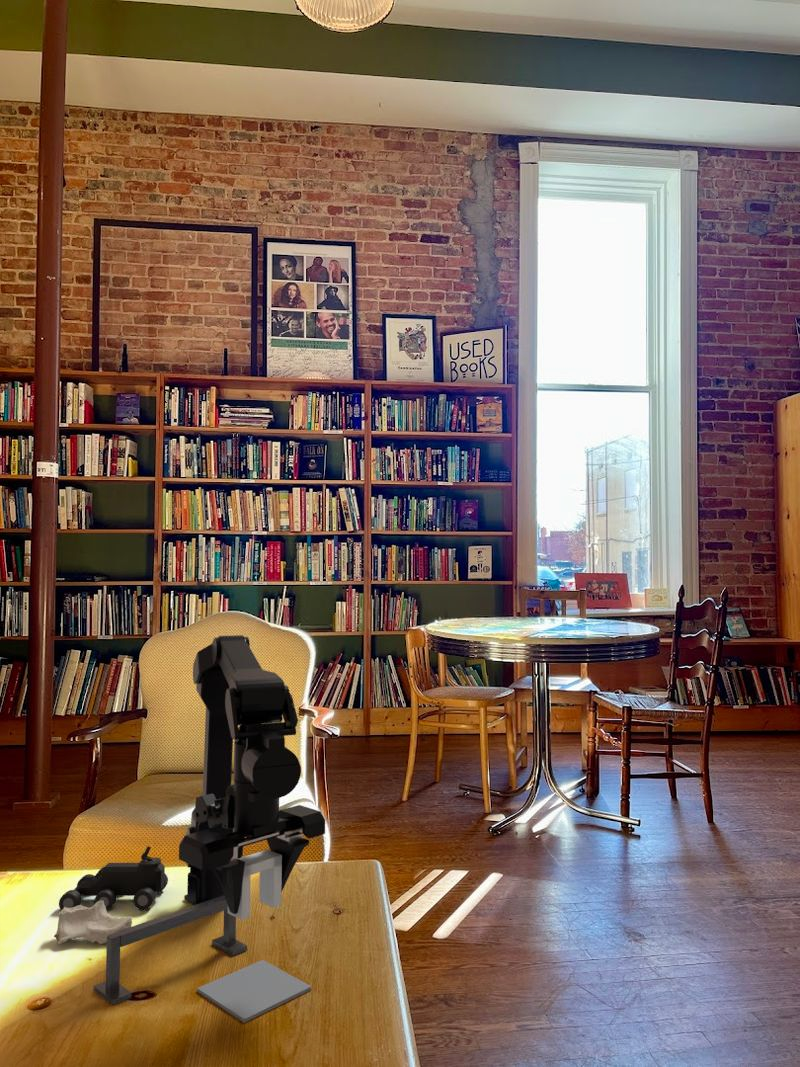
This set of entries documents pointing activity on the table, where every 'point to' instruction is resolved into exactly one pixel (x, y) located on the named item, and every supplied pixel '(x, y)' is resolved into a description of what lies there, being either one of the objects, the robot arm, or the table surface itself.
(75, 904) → the toy vehicle
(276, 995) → the mat
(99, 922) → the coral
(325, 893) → the table surface
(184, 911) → the stand
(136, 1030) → the table surface
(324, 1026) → the table surface
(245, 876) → the c link
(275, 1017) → the table surface
